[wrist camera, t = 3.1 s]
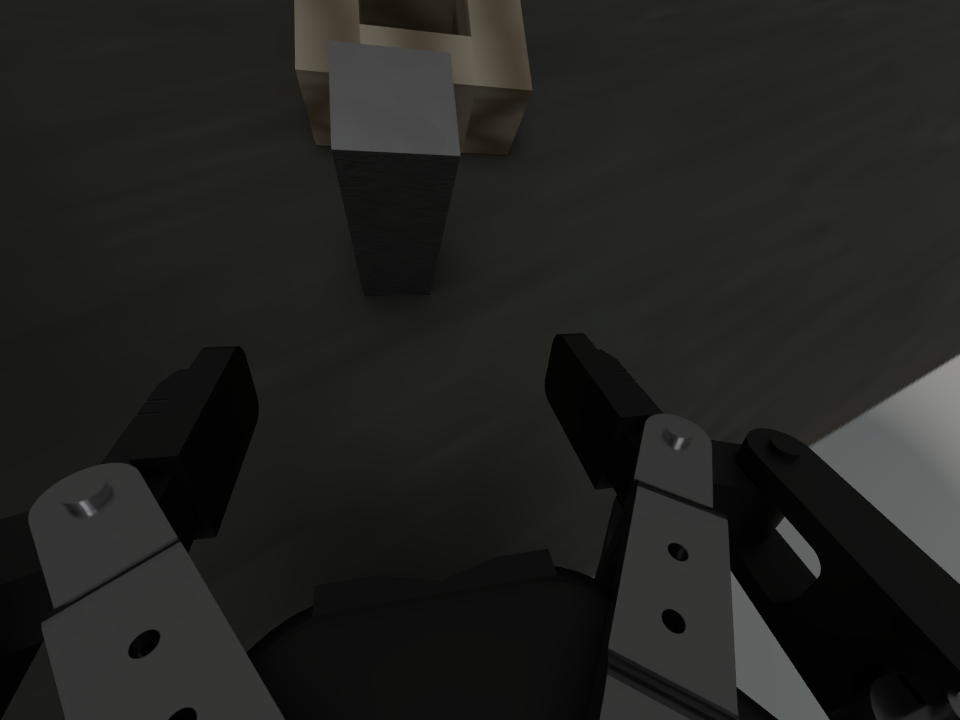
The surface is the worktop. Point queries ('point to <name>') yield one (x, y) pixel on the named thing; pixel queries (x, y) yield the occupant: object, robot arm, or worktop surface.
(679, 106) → the worktop surface
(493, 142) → the well block
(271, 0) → the worktop surface
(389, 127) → the grey square pillar
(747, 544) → the robot arm
